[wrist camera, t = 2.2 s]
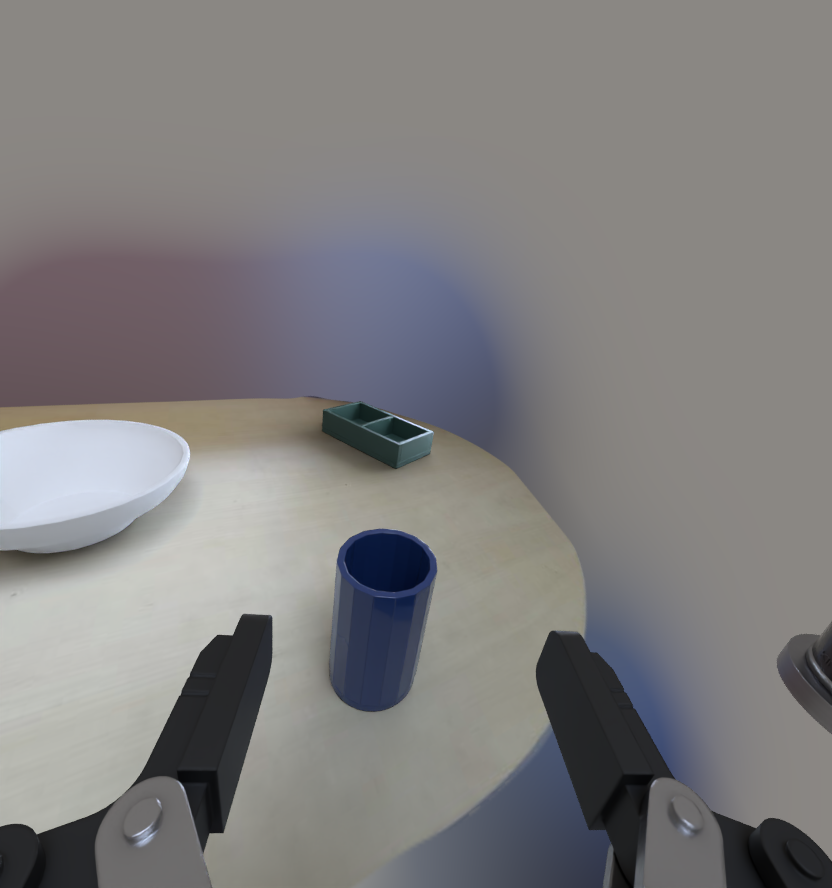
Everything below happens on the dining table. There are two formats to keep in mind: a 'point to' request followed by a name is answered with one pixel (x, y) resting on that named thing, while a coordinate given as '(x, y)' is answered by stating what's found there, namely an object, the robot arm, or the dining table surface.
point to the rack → (377, 433)
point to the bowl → (82, 480)
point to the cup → (379, 616)
